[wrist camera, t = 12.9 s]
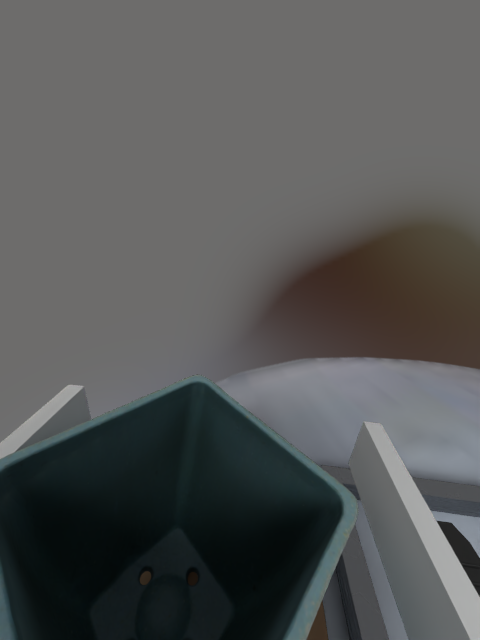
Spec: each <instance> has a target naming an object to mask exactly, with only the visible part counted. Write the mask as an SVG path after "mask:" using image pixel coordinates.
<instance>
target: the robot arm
mask: <svg viewBox="0 0 480 640" xmlns="http://www.w3.org/2000/svg"><path fill="white" fill-rule="evenodd" d="M90 420H91V416H90V412H89V407H88V402H87V397H86V393H85V388H84V386H77V385H68V386H67V387H65V388H64V389H63V390H62V391H61V392H60V393H59V394H57V395H56V396H55V397H54V398H53V399H51V400H50V401H49V402H48V403H47V404H46V405H44V406H43V407H42V408H41V409H40V410H39V411H37V412H36V413H35V414H34V415H33V416H32V417H30V418H29V419H28V420H27V421H26V422H25V423H23V424H22V425H21V426H20V427H19V428H18V429H16V430H15V431H14V432H13V433H12V434H11V435H10V436H8V437H7V438H6V439H5V440H4V441H2V442H1V443H0V459H1V458H3V457H5V456H7V455H9V454H12V453H14V452H16V451H19V450H21V449H23V448H25V447H28V446H30V445H32V444H34V443H37V442H40V441H43V440H45V439H47V438H49V437H52V436H54V435H57V434H59V433H61V432H63V431H65V430H67V429H70V428H72V427H74V426H77V425H79V424H82V423H84V422H87V421H90ZM348 464H349V467H350V470H351V473H352V476H353V479H354V482H355V484H356V487H357V490H358V493H359V496H360V499H361V502H362V505H363V508H364V511H365V514H366V516H367V519H368V522H369V525H370V528H371V531H372V534H373V537H374V540H375V543H376V546H377V548H378V551H379V554H380V557H381V560H382V563H383V566H384V569H385V572H386V575H387V578H388V580H389V583H390V586H391V589H392V592H393V595H394V598H395V601H396V604H397V607H398V610H399V612H400V615H401V618H402V621H403V624H404V627H405V630H406V633H407V636H408V639H409V640H480V558H479V556H478V555H477V553H476V552H475V550H474V549H473V547H472V545H471V544H470V542H469V541H468V540H467V539H466V538H465V537H464V536H463V535H462V534H461V533H460V532H459V531H458V530H457V528H456V527H455V526H454V525H453V524H452V523H448V522H442V521H436V519H435V518H434V516H433V514H432V512H431V511H430V509H429V507H428V505H427V504H426V502H425V500H424V498H423V497H422V495H421V493H420V491H419V490H418V488H417V486H416V484H415V483H414V481H413V479H412V477H411V476H410V474H409V472H408V470H407V469H406V467H405V465H404V463H403V461H402V460H401V458H400V456H399V454H398V453H397V451H396V449H395V447H394V446H393V444H392V442H391V440H390V439H389V437H388V435H387V433H386V432H385V430H384V428H383V426H382V425H381V424H380V423H372V422H363V424H362V427H361V430H360V433H359V435H358V438H357V441H356V444H355V446H354V449H353V452H352V455H351V458H350V460H349V463H348Z"/></svg>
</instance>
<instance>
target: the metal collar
mask: <svg viewBox="0 0 480 640" xmlns="http://www.w3.org/2000/svg"><path fill="white" fill-rule="evenodd" d="M321 468H322V469H323V470H325V471H326V472H328V473H329V474H330V475H331V476H333V477H334V478H335V479H336V480H337V481H339V482H340V483H341V484H342V485H343V486H345V487H346V488H347V489H348V490H349V491H350V492H351V493H352V494H353V495H354V496H355V498H356V499H357V500H361V499H360V496H359V493H358V490H357V487H356V484H355V482H354V479H353V476H352V473H351V470H350V469H347V468H340V467H332V466H325V465H321ZM412 479H413V481H414V483H415V484H416V486H417V488H418V490H419V491H420V493H421V495H422V497H423V498H424V500H425V502H426V504H427V505H428V507H429V509H430V510H432V511H439V512H446V513H453V514H460V515H467V516H475V517H480V487H479V486H472V485H465V484H457V483H450V482H443V481H435V480H428V479H421V478H413V477H412ZM336 571H337V576H338V581H339V586H340V590H341V595H342V600H343V605H344V610H345V615H346V620H347V624H348V629H349V634H350V639H351V640H389V638H388V635H387V631H386V628H385V625H384V621H383V618H382V614H381V611H380V608H379V604H378V601H377V598H376V594H375V591H374V587H373V584H372V581H371V577H370V574H369V571H368V567H367V564H366V560H365V557H364V554H363V550H362V547H361V544H360V540H359V537H358V533H357V530H356V527H355V525H354V527H353V529H352V531H351V533H350V535H349V538H348V540H347V542H346V545H345V547H344V549H343V551H342V554H341V556H340V558H339V561H338V563H337V566H336Z"/></svg>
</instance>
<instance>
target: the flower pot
mask: <svg viewBox="0 0 480 640" xmlns="http://www.w3.org/2000/svg"><path fill="white" fill-rule="evenodd" d="M357 516H358V502H357V499H356V498H355V496H354V495H353V494H352V493H351V492H350V491H349V490H348V489H347V488H346V487H345V486H343V485H342V484H341V483H340V482H339V481H337V480H336V479H335V478H334V477H333V476H331V475H330V474H329V473H328V472H326V471H325V470H323V469H322V468H321V467H320V466H318V465H317V464H316V463H314V462H313V461H312V460H311V459H309V458H308V457H307V456H305V455H304V454H303V453H302V452H300V451H299V450H298V449H297V448H295V447H294V446H292V444H290V443H288V442H287V441H286V440H285V439H284V438H282V437H281V436H280V435H278V434H277V433H276V432H275V431H273V430H272V429H271V428H269V427H268V426H267V425H266V424H265V423H263V422H262V421H261V420H259V419H258V418H256V417H255V416H254V415H253V414H251V413H250V412H249V411H247V410H246V409H245V408H244V407H242V406H241V405H240V404H239V403H238V402H237V401H235V400H234V399H233V398H232V397H230V396H229V395H228V394H227V393H225V392H224V391H223V390H222V389H221V388H219V387H218V386H217V385H216V384H215V383H213V382H212V381H211V380H209V379H208V378H206V377H204V376H202V375H193V376H191V377H188V378H185V379H183V380H181V381H178V382H176V383H174V384H172V385H170V386H168V387H165V388H163V389H161V390H158V391H156V392H154V393H151V394H149V395H147V396H144V397H142V398H140V399H137V400H135V401H133V402H131V403H129V404H127V405H124V406H122V407H119V408H117V409H115V410H113V411H109V412H107V413H105V414H103V415H101V416H98V417H96V418H94V419H92V420H90V421H87V422H84V423H82V424H79V425H77V426H74V427H72V428H70V429H67V430H65V431H63V432H61V433H59V434H57V435H54V436H52V437H49V438H47V439H45V440H43V441H40V442H37V443H34V444H32V445H30V446H28V447H25V448H23V449H21V450H19V451H16V452H14V453H12V454H9V455H7V456H5V457H3V458H1V459H0V640H306V639H307V637H308V634H309V632H310V629H311V627H312V624H313V622H314V619H315V617H316V615H317V612H318V609H319V607H320V604H321V602H322V599H323V597H324V595H325V592H326V590H327V588H328V585H329V581H330V580H331V577H332V575H333V573H334V570H335V568H336V566H337V563H338V561H339V558H340V556H341V554H342V551H343V549H344V547H345V545H346V542H347V540H348V538H349V535H350V533H351V531H352V529H353V527H354V525H355V523H356V519H357ZM146 571H148V572H150V574H151V580H150V581H149V583H148V584H146V585H142V584H141V583H140V577H141V575H142V574H143V573H144V572H146ZM191 572H195V573H196V574H197V576H198V581H197V583H196V584H195V585H193V586H192V585H190V584H189V583H188V575H189V574H190V573H191Z"/></svg>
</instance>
